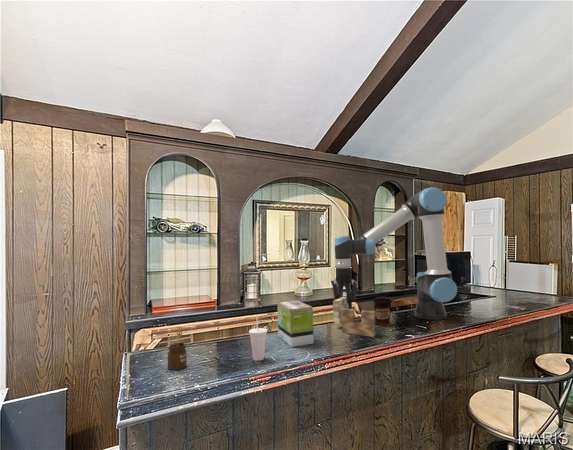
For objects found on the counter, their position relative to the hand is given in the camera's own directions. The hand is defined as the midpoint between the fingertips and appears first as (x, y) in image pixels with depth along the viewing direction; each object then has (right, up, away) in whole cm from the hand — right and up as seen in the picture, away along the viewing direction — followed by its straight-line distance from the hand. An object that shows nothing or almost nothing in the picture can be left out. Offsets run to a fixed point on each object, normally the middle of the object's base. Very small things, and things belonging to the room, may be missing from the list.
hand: (345, 315), depth 155 cm
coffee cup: (+17, -3, -5) cm, 18 cm away
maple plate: (-2, -1, -4) cm, 5 cm away
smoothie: (-39, -2, -45) cm, 59 cm away
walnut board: (+2, -3, -18) cm, 18 cm away
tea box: (-25, -3, -25) cm, 36 cm away
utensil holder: (-65, -3, -50) cm, 82 cm away
